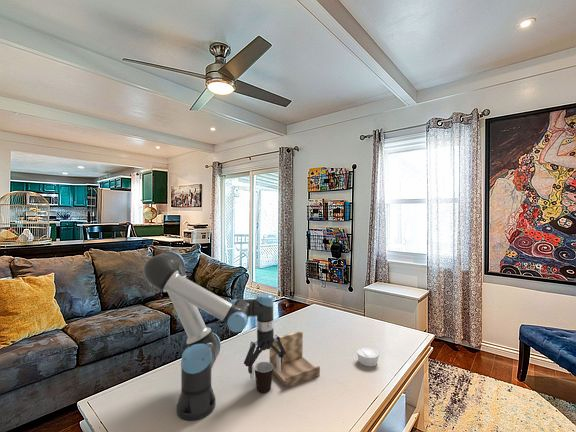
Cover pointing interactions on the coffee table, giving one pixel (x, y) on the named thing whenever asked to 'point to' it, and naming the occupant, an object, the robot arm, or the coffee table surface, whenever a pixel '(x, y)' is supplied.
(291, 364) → the light brown blocky piece
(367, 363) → the ramekin
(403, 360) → the coffee table surface
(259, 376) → the coffee mug
